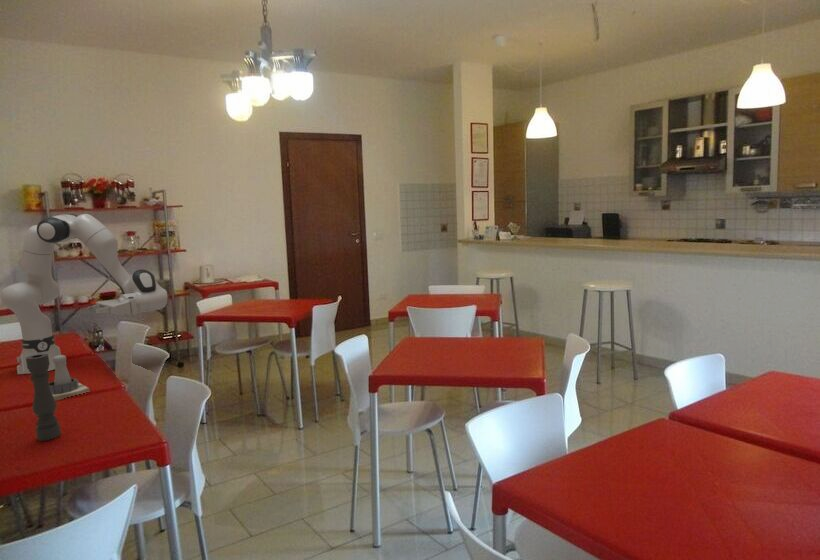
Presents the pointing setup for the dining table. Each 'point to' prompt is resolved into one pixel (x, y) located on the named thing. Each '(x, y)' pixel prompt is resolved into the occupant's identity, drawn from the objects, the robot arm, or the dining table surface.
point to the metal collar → (63, 387)
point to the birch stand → (72, 392)
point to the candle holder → (43, 398)
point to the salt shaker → (61, 371)
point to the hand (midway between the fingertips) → (91, 310)
